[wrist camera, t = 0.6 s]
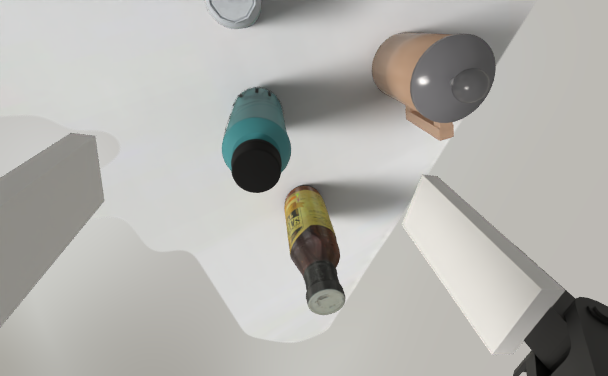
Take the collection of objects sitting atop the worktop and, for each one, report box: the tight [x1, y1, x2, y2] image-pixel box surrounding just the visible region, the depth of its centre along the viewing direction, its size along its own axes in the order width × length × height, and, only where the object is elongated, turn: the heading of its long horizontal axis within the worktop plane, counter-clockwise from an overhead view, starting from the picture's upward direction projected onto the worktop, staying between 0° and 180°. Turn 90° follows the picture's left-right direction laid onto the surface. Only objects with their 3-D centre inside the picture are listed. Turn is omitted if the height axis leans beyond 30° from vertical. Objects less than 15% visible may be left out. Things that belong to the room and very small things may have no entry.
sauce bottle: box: [284, 186, 345, 315], centre depth 40 cm, size 7×6×20 cm
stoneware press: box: [372, 32, 495, 141], centre depth 34 cm, size 11×8×17 cm
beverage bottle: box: [222, 87, 291, 193], centre depth 32 cm, size 6×7×20 cm
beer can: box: [204, 0, 261, 29], centre depth 30 cm, size 5×5×12 cm
